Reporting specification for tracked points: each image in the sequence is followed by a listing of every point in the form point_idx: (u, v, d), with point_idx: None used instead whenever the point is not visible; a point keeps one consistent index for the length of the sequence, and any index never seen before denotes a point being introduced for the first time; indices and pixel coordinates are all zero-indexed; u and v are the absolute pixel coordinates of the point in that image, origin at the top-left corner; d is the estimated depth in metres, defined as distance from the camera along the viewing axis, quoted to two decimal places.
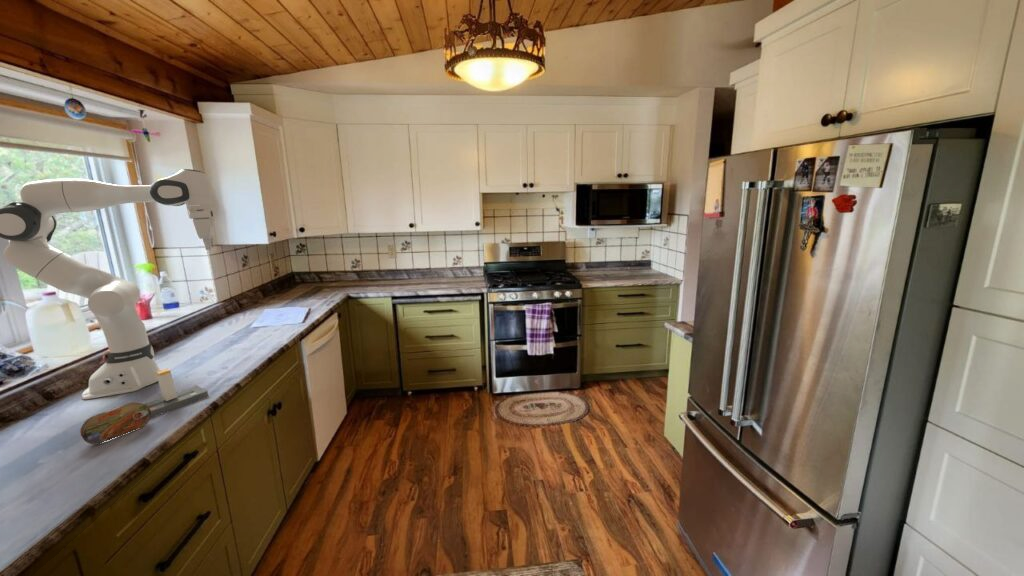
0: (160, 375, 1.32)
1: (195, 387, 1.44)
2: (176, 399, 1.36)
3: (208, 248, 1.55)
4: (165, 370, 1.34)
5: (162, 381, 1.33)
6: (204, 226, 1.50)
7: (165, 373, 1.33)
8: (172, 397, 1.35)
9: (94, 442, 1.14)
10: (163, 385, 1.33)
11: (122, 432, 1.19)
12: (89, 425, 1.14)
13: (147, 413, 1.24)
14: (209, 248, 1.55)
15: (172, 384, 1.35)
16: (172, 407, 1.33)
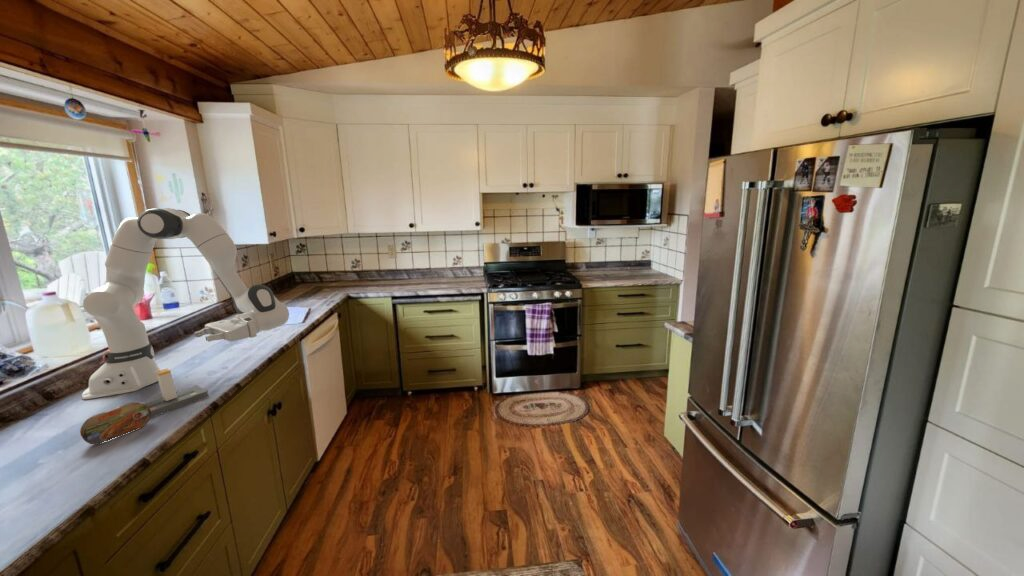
0: (160, 375, 1.32)
1: (195, 387, 1.44)
2: (176, 399, 1.36)
3: (209, 338, 1.39)
4: (165, 370, 1.34)
5: (162, 381, 1.33)
6: (242, 334, 1.44)
7: (165, 373, 1.33)
8: (172, 397, 1.35)
9: (94, 442, 1.14)
10: (163, 385, 1.33)
11: (122, 432, 1.19)
12: (89, 425, 1.14)
13: (147, 413, 1.24)
14: (209, 339, 1.39)
15: (172, 384, 1.35)
16: (172, 407, 1.33)
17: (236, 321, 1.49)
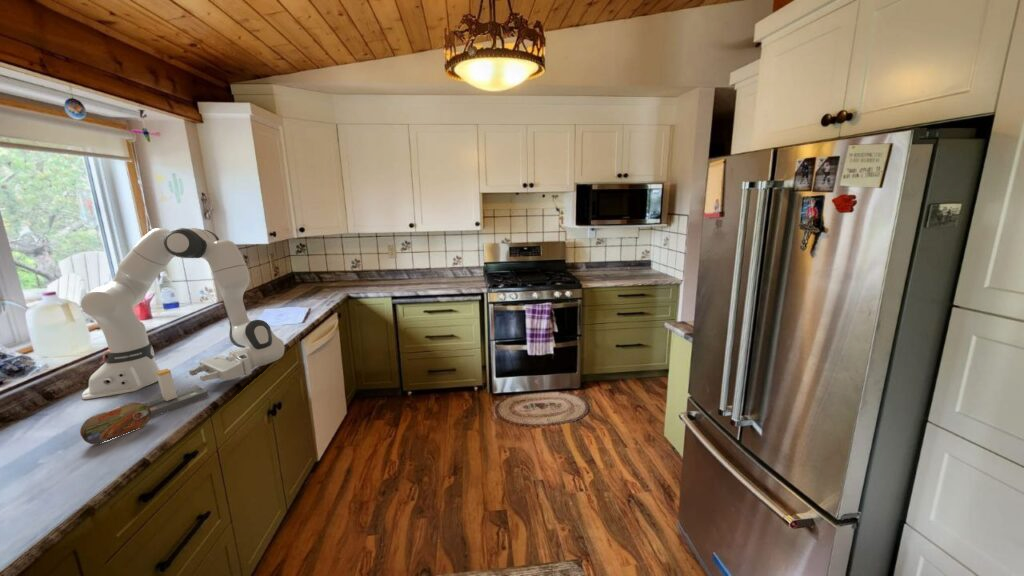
0: (160, 375, 1.32)
1: (195, 387, 1.44)
2: (176, 399, 1.36)
3: (204, 378, 1.39)
4: (165, 370, 1.34)
5: (162, 381, 1.33)
6: (237, 373, 1.44)
7: (165, 373, 1.33)
8: (172, 397, 1.35)
9: (94, 442, 1.14)
10: (163, 385, 1.33)
11: (122, 432, 1.19)
12: (89, 425, 1.14)
13: (147, 413, 1.24)
14: (204, 379, 1.39)
15: (172, 384, 1.35)
16: (172, 407, 1.33)
17: (231, 358, 1.49)
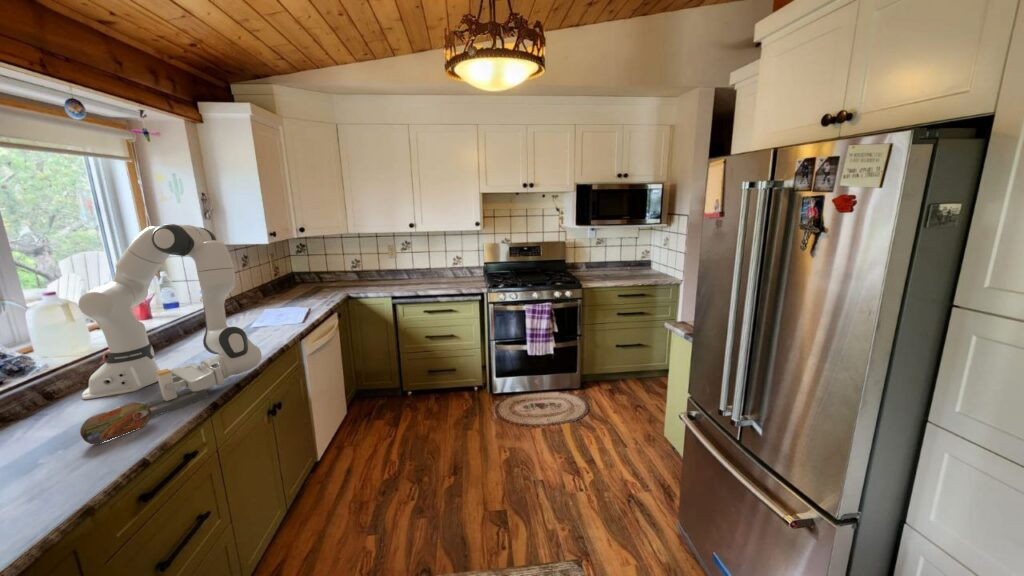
0: (160, 375, 1.32)
1: None
2: (176, 399, 1.36)
3: (169, 387, 1.33)
4: (165, 370, 1.34)
5: (162, 381, 1.33)
6: (208, 383, 1.36)
7: (165, 373, 1.33)
8: (172, 397, 1.35)
9: (94, 442, 1.14)
10: (163, 385, 1.33)
11: (122, 432, 1.19)
12: (89, 425, 1.14)
13: (147, 413, 1.24)
14: (169, 388, 1.33)
15: None
16: (172, 407, 1.33)
17: (203, 367, 1.42)
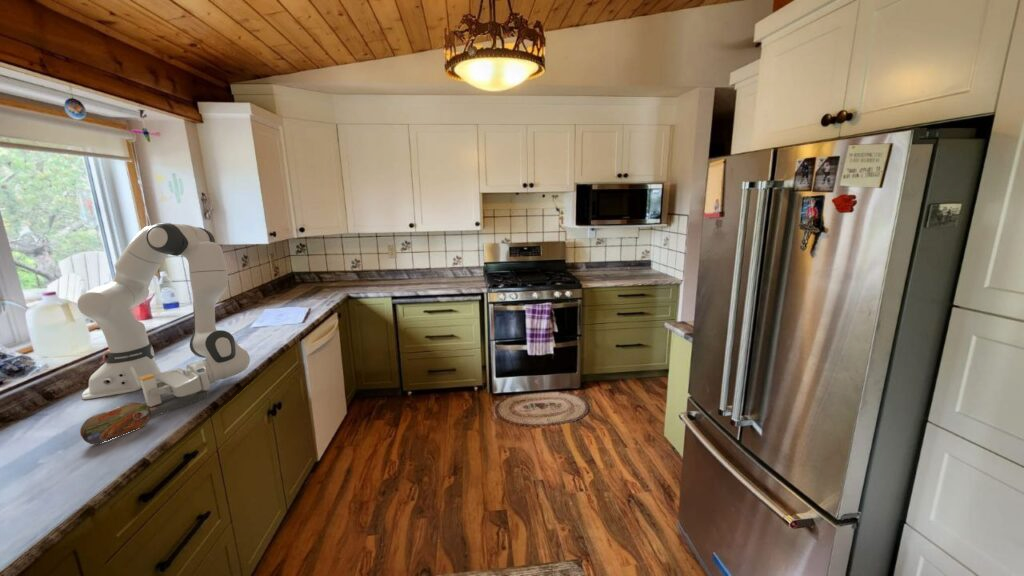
0: (143, 380, 1.29)
1: None
2: (176, 399, 1.36)
3: (152, 393, 1.30)
4: (149, 375, 1.31)
5: (145, 386, 1.29)
6: (193, 388, 1.33)
7: (149, 378, 1.30)
8: (156, 403, 1.32)
9: (94, 442, 1.14)
10: (146, 390, 1.30)
11: (122, 432, 1.19)
12: (89, 425, 1.14)
13: (147, 413, 1.24)
14: (152, 394, 1.30)
15: None
16: (172, 407, 1.33)
17: (188, 372, 1.38)
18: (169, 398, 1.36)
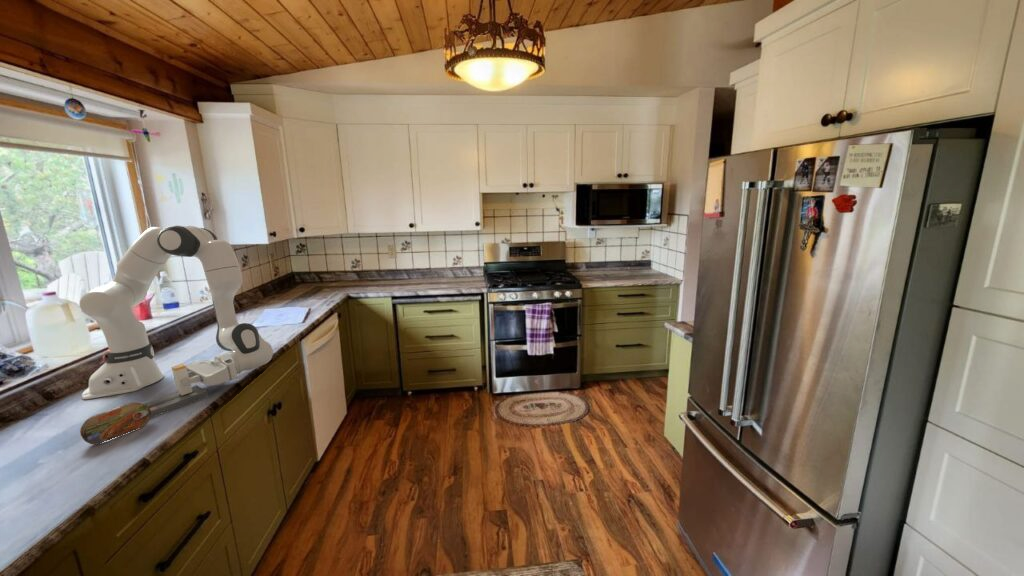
0: (176, 370, 1.36)
1: (195, 387, 1.44)
2: (176, 399, 1.36)
3: (184, 382, 1.37)
4: (181, 365, 1.38)
5: (178, 376, 1.36)
6: (222, 378, 1.40)
7: (181, 368, 1.37)
8: (187, 392, 1.39)
9: (94, 442, 1.14)
10: (179, 380, 1.36)
11: (122, 432, 1.19)
12: (89, 425, 1.14)
13: (147, 413, 1.24)
14: (184, 383, 1.37)
15: None
16: (172, 407, 1.33)
17: (216, 363, 1.45)
18: (169, 398, 1.36)
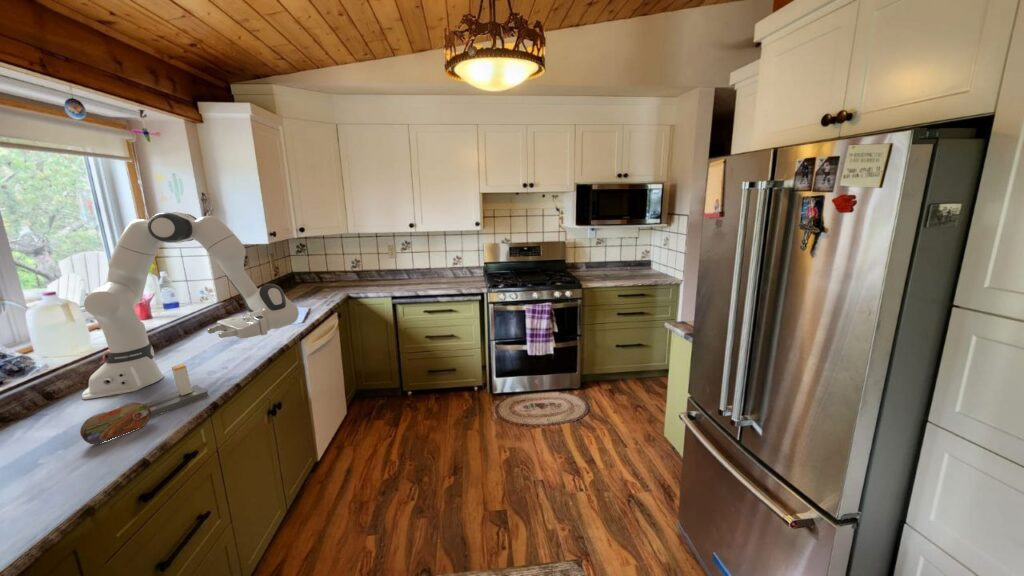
0: (176, 370, 1.36)
1: (195, 387, 1.44)
2: (176, 399, 1.36)
3: (222, 335, 1.42)
4: (181, 365, 1.38)
5: (178, 376, 1.36)
6: (254, 332, 1.47)
7: (181, 368, 1.37)
8: (187, 392, 1.39)
9: (94, 442, 1.14)
10: (179, 380, 1.36)
11: (122, 432, 1.19)
12: (89, 425, 1.14)
13: (147, 413, 1.24)
14: (222, 336, 1.43)
15: (187, 379, 1.38)
16: (172, 407, 1.33)
17: (248, 319, 1.52)
18: (169, 398, 1.36)
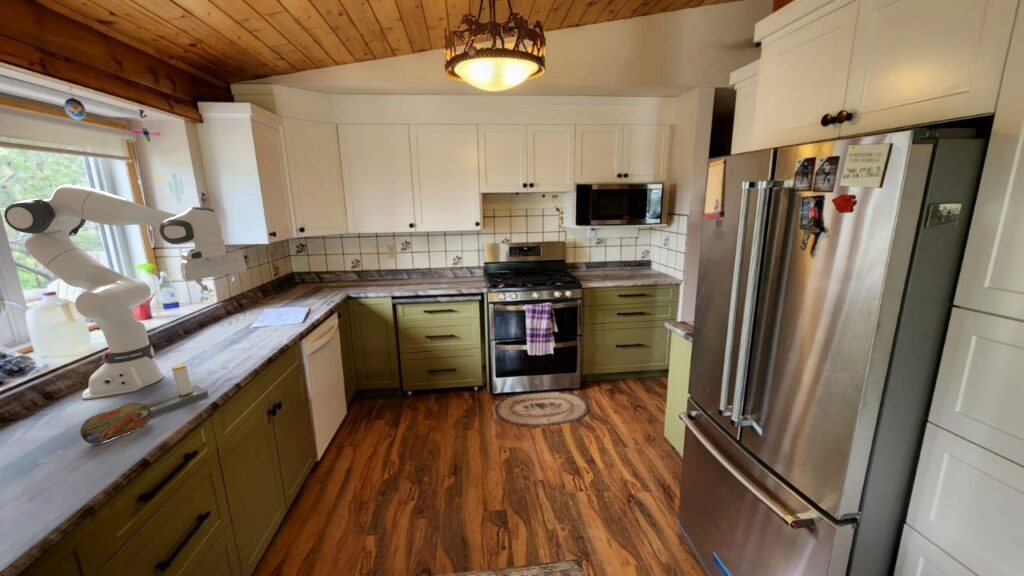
0: (176, 370, 1.36)
1: (195, 387, 1.44)
2: (176, 399, 1.36)
3: (202, 289, 1.49)
4: (181, 365, 1.38)
5: (178, 376, 1.36)
6: (183, 268, 1.43)
7: (181, 368, 1.37)
8: (187, 392, 1.39)
9: (94, 442, 1.14)
10: (179, 380, 1.36)
11: (122, 432, 1.19)
12: (89, 425, 1.14)
13: (147, 413, 1.24)
14: (202, 289, 1.49)
15: (187, 379, 1.38)
16: (172, 407, 1.33)
17: None
18: (169, 398, 1.36)
